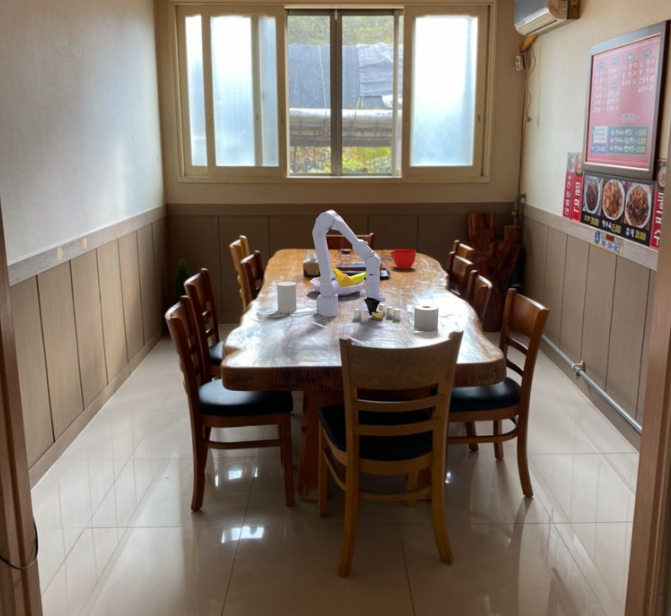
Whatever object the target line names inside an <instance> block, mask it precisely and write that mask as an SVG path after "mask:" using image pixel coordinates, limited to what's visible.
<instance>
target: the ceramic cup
mask: <svg viewBox="0 0 671 616" xmlns="http://www.w3.org/2000/svg"><path fill="white" fill-rule="evenodd" d="M416 255H417V250H415V249H406V248H405V249H402V248H400V249H399V248H398V249H394V250H392V251H391V253H390V256H391V258H392V260H393V261H394V264H395V266H396V267H397V269H399V270H409V269H411V268H412V267H413V266H414V263H415V261H416Z"/></svg>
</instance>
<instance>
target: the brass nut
mask: <svg viewBox="0 0 671 616" xmlns="http://www.w3.org/2000/svg"><path fill="white" fill-rule="evenodd" d="M372 320H375V321H380V320H383V311H379V310H376V311H372Z"/></svg>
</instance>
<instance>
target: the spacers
mask: <svg viewBox="0 0 671 616" xmlns="http://www.w3.org/2000/svg"><path fill="white" fill-rule="evenodd" d="M378 311H383V315H385V314H386V317H388V318H392V317H393V319H394V320H397V321H401V320H400V318H401V309H400V308H394V306H387V305H386V304H385V303H379V305H378ZM353 318H354V319H355V320H354V321H356V320H360V319H361V322H363V323H362V324H364V323H367V322H369V312H368V310H362V309H361V308H354V309H353ZM361 322H360V323H361Z"/></svg>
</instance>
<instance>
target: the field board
mask: <svg viewBox="0 0 671 616" xmlns="http://www.w3.org/2000/svg"><path fill="white" fill-rule="evenodd" d="M350 320H352V321H353V320H354V321H356V322H359V323H361V324H364V325H366V326H369V327H371V326H376V325H381V324H386V323H392V322H397V321H398V320H394V319H393V317H392V318H388V317H386V314H385V315H383V320H380V321H375V320H372V316H369V322H367V323H363V322H361V319H360V320H355V319H354V317H352V318H350ZM401 320H402V318H401V317H400V320H399V321H401Z"/></svg>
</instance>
